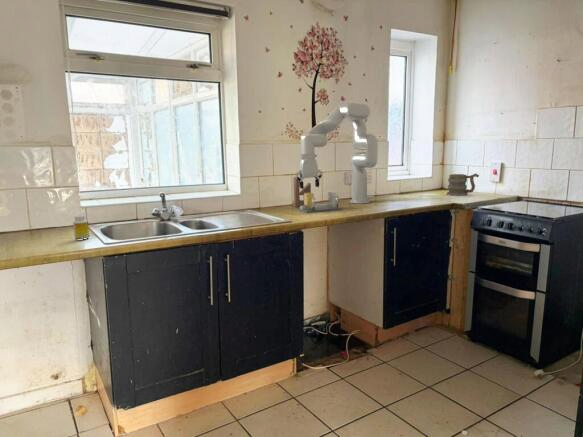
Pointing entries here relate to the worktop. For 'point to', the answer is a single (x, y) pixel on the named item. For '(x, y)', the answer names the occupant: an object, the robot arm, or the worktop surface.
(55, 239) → the worktop surface
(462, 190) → the tankard
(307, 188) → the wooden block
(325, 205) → the trammel beam
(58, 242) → the worktop surface
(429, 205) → the worktop surface
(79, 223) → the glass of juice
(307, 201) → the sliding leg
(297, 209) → the bolt plate
